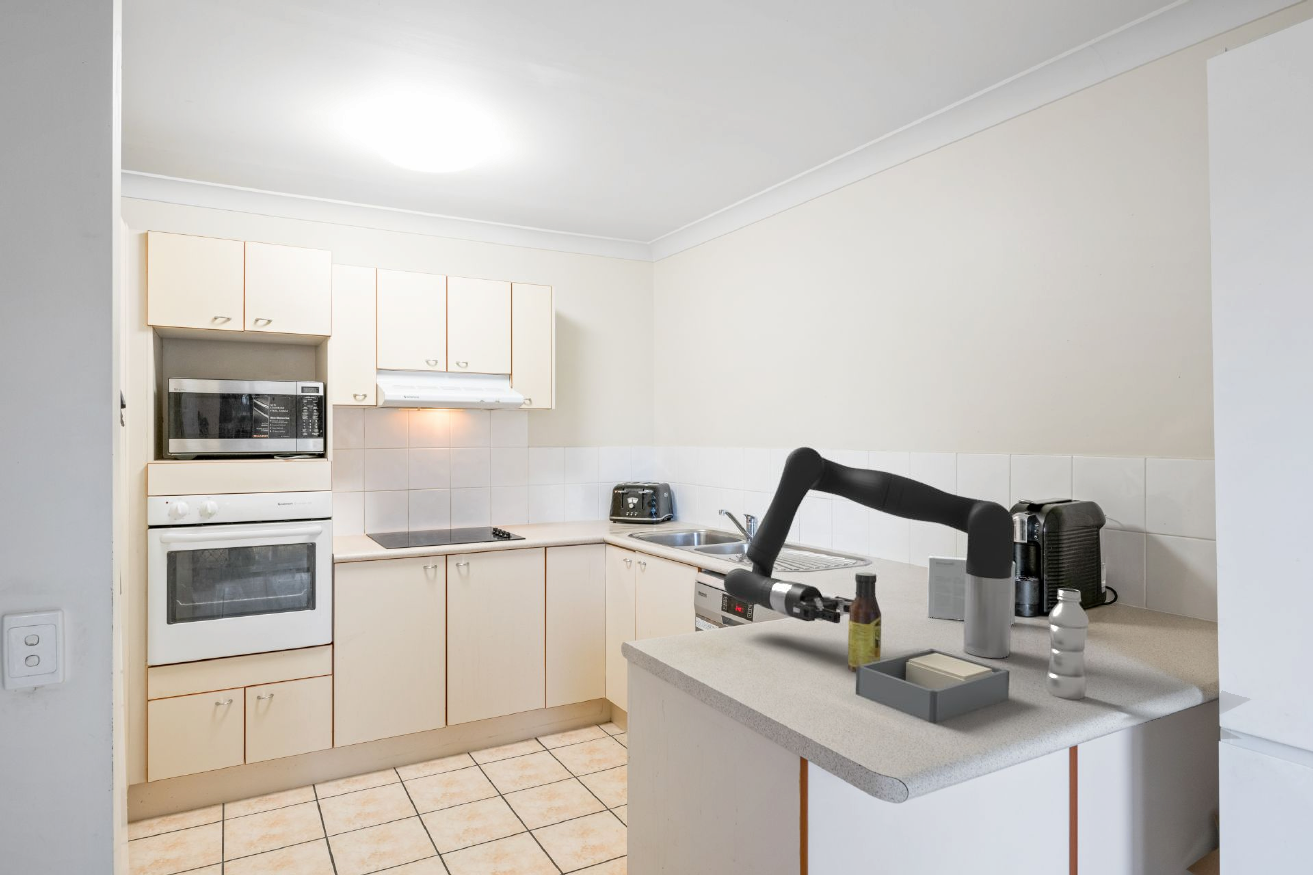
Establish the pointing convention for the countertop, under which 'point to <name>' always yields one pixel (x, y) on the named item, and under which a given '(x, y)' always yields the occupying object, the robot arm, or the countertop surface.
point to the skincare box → (953, 588)
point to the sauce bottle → (864, 623)
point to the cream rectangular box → (941, 671)
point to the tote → (894, 691)
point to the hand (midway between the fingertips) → (853, 615)
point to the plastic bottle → (1067, 646)
